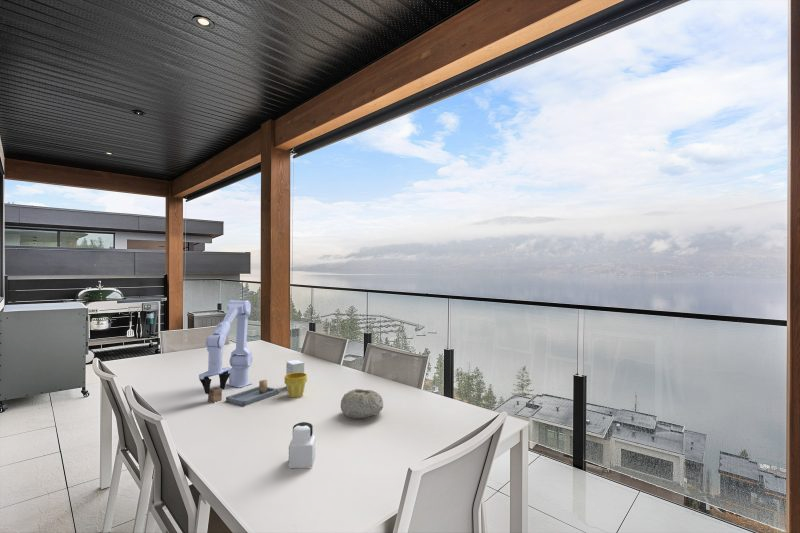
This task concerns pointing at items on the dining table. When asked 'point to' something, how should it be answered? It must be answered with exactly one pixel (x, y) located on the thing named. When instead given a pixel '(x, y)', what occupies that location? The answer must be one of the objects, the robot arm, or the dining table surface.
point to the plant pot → (295, 384)
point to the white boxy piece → (302, 446)
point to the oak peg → (263, 386)
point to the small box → (294, 367)
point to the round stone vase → (361, 403)
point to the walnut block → (215, 395)
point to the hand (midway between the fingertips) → (214, 391)
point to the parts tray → (251, 396)
